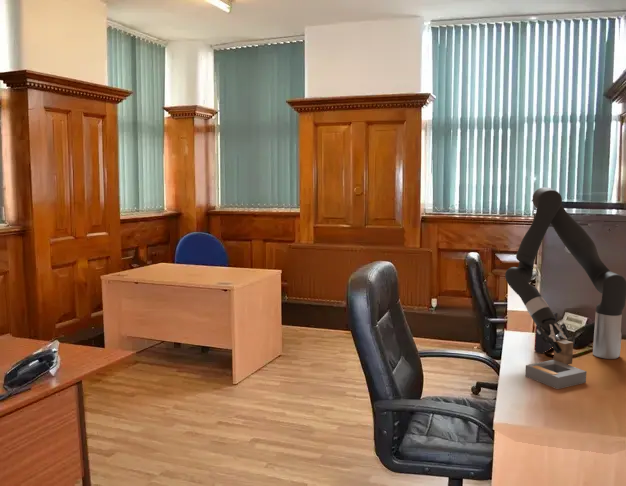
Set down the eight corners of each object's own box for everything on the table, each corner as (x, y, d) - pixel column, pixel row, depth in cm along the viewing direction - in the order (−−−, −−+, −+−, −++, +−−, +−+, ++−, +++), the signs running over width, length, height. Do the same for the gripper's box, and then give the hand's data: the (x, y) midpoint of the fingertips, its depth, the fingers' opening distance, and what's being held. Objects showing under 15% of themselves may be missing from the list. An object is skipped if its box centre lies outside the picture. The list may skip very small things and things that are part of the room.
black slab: (545, 346, 251) (547, 310, 249) (555, 348, 248) (557, 312, 246) (533, 351, 243) (535, 315, 242) (543, 354, 240) (545, 317, 238)
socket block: (552, 370, 221) (553, 359, 221) (585, 382, 209) (586, 370, 208) (525, 376, 215) (525, 364, 214) (557, 389, 202) (558, 377, 202)
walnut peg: (561, 360, 224) (563, 339, 223) (572, 363, 220) (573, 342, 219) (553, 361, 222) (554, 340, 221) (563, 365, 218) (564, 344, 217)
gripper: (532, 308, 223) (557, 348, 214) (559, 304, 230) (584, 343, 221) (520, 319, 229) (544, 359, 219) (547, 314, 235) (571, 353, 226)
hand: (564, 351), depth 220 cm, fingers closed on walnut peg, 4 cm apart
